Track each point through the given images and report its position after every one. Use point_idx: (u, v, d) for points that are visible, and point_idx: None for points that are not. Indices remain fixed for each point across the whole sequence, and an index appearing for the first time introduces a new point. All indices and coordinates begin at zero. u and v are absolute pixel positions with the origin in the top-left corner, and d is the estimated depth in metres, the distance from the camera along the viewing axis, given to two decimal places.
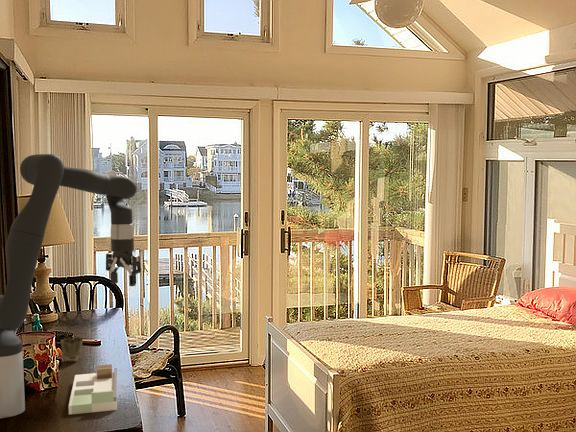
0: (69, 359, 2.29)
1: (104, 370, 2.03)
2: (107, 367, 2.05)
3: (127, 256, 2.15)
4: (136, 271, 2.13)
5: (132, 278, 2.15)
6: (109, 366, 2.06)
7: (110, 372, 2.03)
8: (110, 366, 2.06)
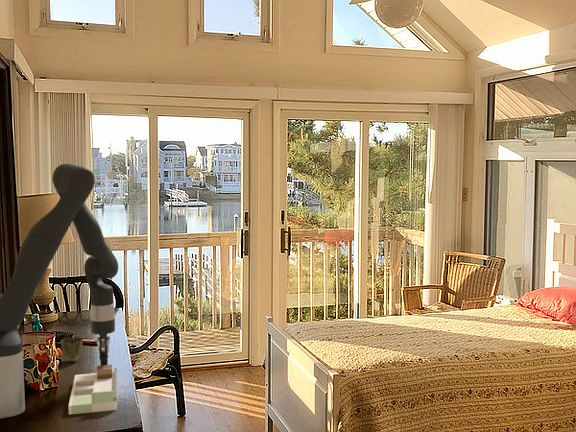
0: (69, 359, 2.29)
1: (104, 370, 2.03)
2: (107, 367, 2.04)
3: None
4: None
5: None
6: (109, 366, 2.05)
7: (110, 372, 2.03)
8: (110, 366, 2.05)
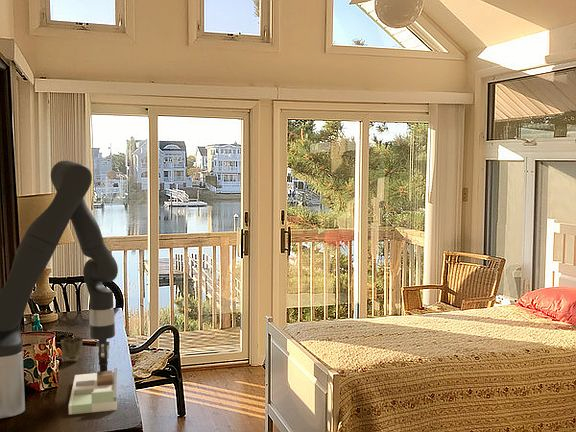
0: (69, 359, 2.29)
1: (104, 376, 1.97)
2: (108, 373, 1.98)
3: None
4: None
5: None
6: (110, 372, 1.99)
7: (111, 379, 1.97)
8: (111, 372, 1.99)
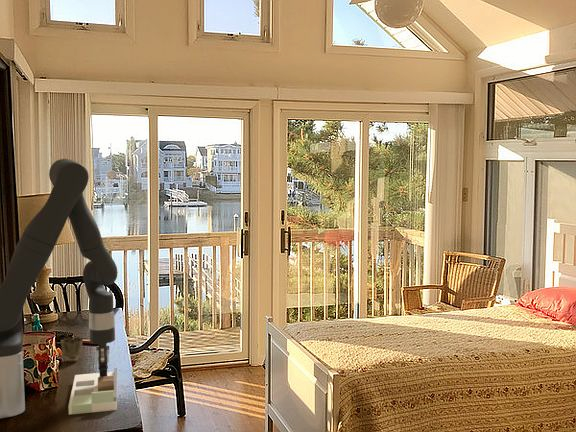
0: (69, 359, 2.29)
1: (106, 382, 1.92)
2: (109, 379, 1.93)
3: None
4: None
5: None
6: (111, 377, 1.94)
7: (112, 384, 1.92)
8: (112, 377, 1.94)
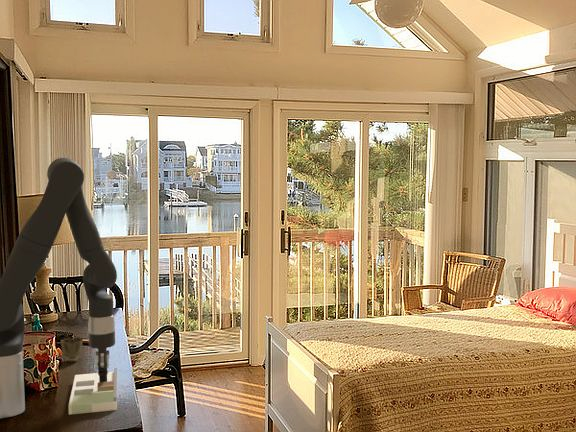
0: (69, 359, 2.29)
1: (105, 388, 1.87)
2: (109, 384, 1.88)
3: None
4: None
5: None
6: (111, 383, 1.89)
7: None
8: (112, 383, 1.89)
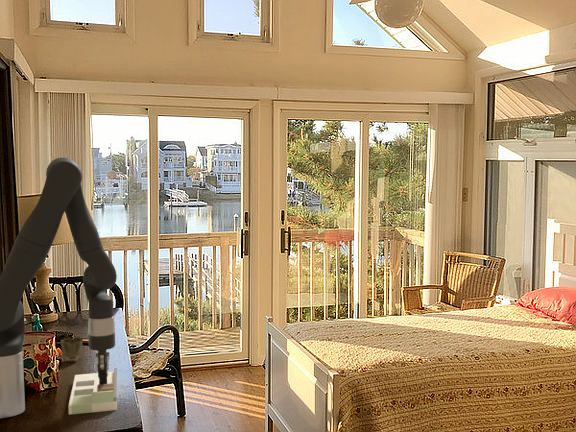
0: (69, 359, 2.29)
1: (105, 390, 1.85)
2: (108, 386, 1.86)
3: None
4: None
5: None
6: (111, 385, 1.87)
7: None
8: (112, 385, 1.87)
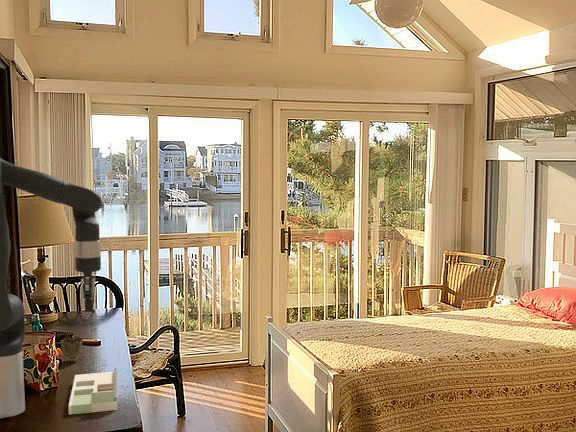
0: (69, 359, 2.29)
1: (105, 390, 1.85)
2: (108, 387, 1.86)
3: (92, 274, 2.00)
4: None
5: None
6: (111, 385, 1.87)
7: None
8: (112, 385, 1.87)
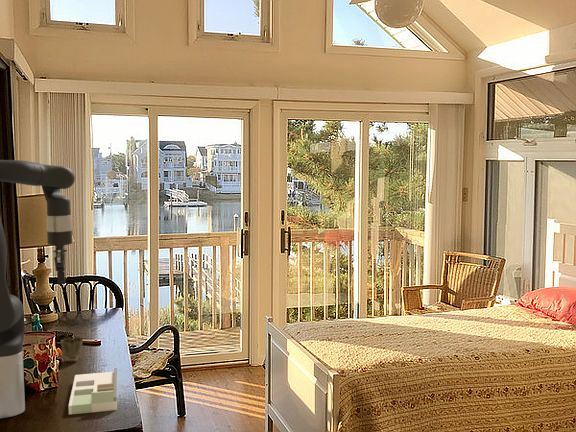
0: (69, 359, 2.29)
1: (105, 390, 1.85)
2: (108, 387, 1.86)
3: (64, 248, 2.09)
4: None
5: None
6: (111, 385, 1.87)
7: None
8: (112, 385, 1.87)
